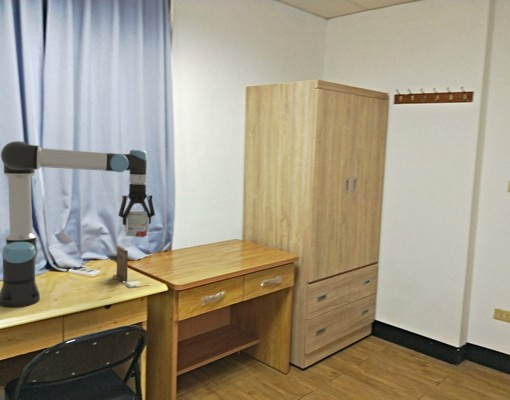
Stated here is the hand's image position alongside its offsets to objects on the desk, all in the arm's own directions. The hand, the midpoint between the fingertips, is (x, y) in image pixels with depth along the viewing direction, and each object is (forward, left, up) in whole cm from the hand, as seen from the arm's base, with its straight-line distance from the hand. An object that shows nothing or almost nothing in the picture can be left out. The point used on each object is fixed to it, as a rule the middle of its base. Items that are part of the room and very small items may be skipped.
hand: (136, 231), depth 218 cm
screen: (-3, +12, -25) cm, 28 cm away
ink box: (0, 0, -2) cm, 2 cm away
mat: (0, 0, -25) cm, 25 cm away
